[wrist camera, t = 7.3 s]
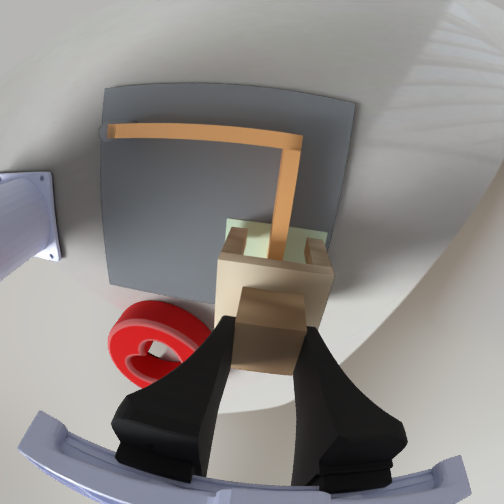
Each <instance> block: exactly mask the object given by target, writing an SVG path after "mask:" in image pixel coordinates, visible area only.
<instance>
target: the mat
mask: <svg viewBox="0 0 504 504" xmlns="http://www.w3.org/2000/svg"><path fill="white" fill-rule="evenodd" d="M354 110H355V103H351V102H347V101H342V100H338V99H333V98H329V97H324V96H319V95H313V94H308V93H302V92H296V91H289V90H282V89H275V88H266V87H257V86H246V85H232V84H212V83H166V84H146V85H133V86H123V87H114V88H106V89H105V92H104V101H103V113H102V124H103V123H104V122H106V121H126V120H134V121H136V122H138V123H183V124H205V125H220V126H233V127H243V128H253V129H261V130H269V131H277V132H284V133H291V134H297V135H303V140H302V147H301V154H300V161H299V167H298V174H297V180H296V186H295V193H294V199H293V205H292V211H291V217H290V223H289V227H296V228H303V229H309V230H316V231H322V232H328V234H327V239H326V243H325V247H326V250H327V252H328V248H329V244H330V240H331V235H332V231H333V227H334V222H335V217H336V213H337V208H338V203H339V198H340V193H341V188H342V183H343V178H344V173H345V167H346V161H347V156H348V150H349V144H350V137H351V131H352V124H353V117H354ZM281 155H282V149H281V148H274V147H267V146H259V145H251V144H242V143H232V142H221V141H208V140H193V139H171V138H130V139H123V140H116V141H110V142H104V141H102V140H101V204H102V220H103V232H104V243H105V252H106V260H107V268H108V275H109V282H110V284H112V285H116V286H121V287H125V288H130V289H135V290H140V291H145V292H150V293H155V294H160V295H165V296H171V297H176V298H181V299H187V300H193V301H199V302H205V303H211V304H215V298H216V280H217V263H218V258H219V255H220V253H221V250H222V248H223V246H224V243H225V235H226V224H227V218H232V219H239V220H247V221H254V222H261V223H269V224H272V218H273V211H274V205H275V198H276V191H277V184H278V177H279V170H280V162H281Z"/></svg>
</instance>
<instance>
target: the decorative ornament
mask: <svg viewBox="0 0 504 504" xmlns="http://www.w3.org/2000/svg"><path fill="white" fill-rule="evenodd" d="M210 334H211V331H210V330H209V329H208V328H207V326H206V325H205V324H204V323H203V322H201V321H200V320H199V319H198V318H196V317H195V316H194V315H192V314H191V313H189V312H187V311H186V310H184V309H182V308H180V307H177V306H175V305H172V304H169V303H165V302H161V301H152V300H150V301H141V302H138V303H135V304H133V305H131V306H130V307H129V308H127V309H126V310H125V311H124V313H123V314H122V315H121V317H120V318H119V319H118V321H117V322H116V324H115V325H114V326H113V328H112V329H111V331H110V333H109V336H108V350H109V353H110V356H111V358H112V360H113V362H114V364H115V365H116V367H117V368H118V369H119V370H120V372H121V373H122V374H123V375H124V376H125V377H127V378H128V379H129V380H130V381H131V382H133V383H134V384H136V385H137V386H139V387H141V388H142V389H143V388H145V387H147V386H149V385H150V384H152V383H154V382H156V381H157V380H159V379H161V378H162V377H164V376H165V375H167V374H168V373H170V372H171V371H172V370H174V369H175V368H177V367H178V366H179V365H180V364H182V363H183V362H184V361H185V360H186V359H187V358H188V357H190V356H191V355H192V354H193V353H194V352H195V351H196V350H197V349H198V348H199V346H200V345H201V344H202V343H203V342H204V341H205V340H206V339H207V337H208V336H209V335H210ZM153 341H158V342H161V343H163V344H165V345H167V346H168V347H170V348H171V349H172V350H173V351H174V352H175V353H176V355H177V356H178V358H179V359H180V361H181V362H171V361H165V360H161V359H158V358H160V357H157V356H155V355H153V354H151V353H149V352H148V351H149V349H150V347H151V345H152V343H153Z"/></svg>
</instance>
